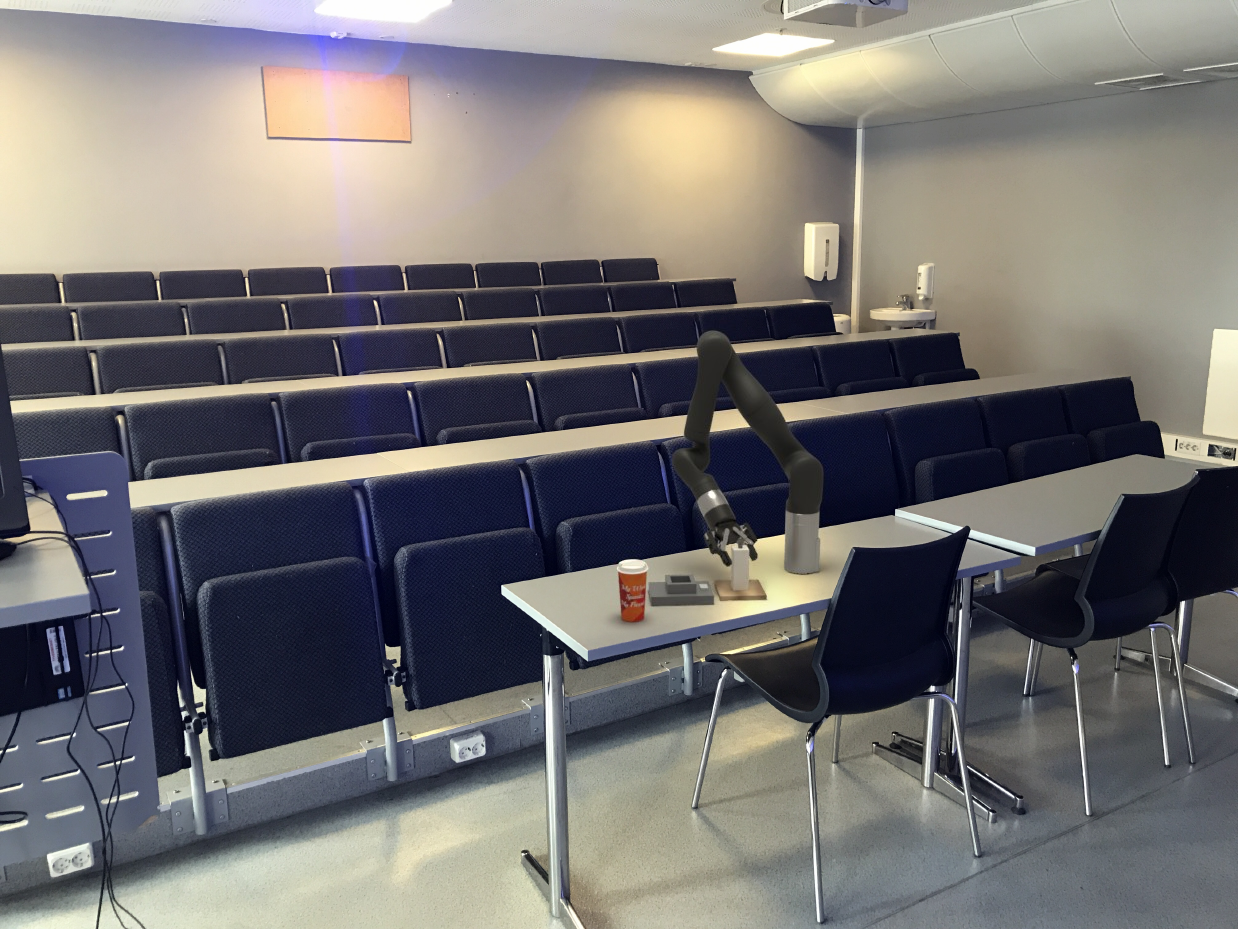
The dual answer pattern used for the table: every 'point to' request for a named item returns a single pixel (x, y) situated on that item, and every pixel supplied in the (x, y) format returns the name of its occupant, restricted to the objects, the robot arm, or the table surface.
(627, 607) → the paper cup
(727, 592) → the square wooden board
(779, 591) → the table surface
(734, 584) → the plug
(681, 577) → the gray socket base
